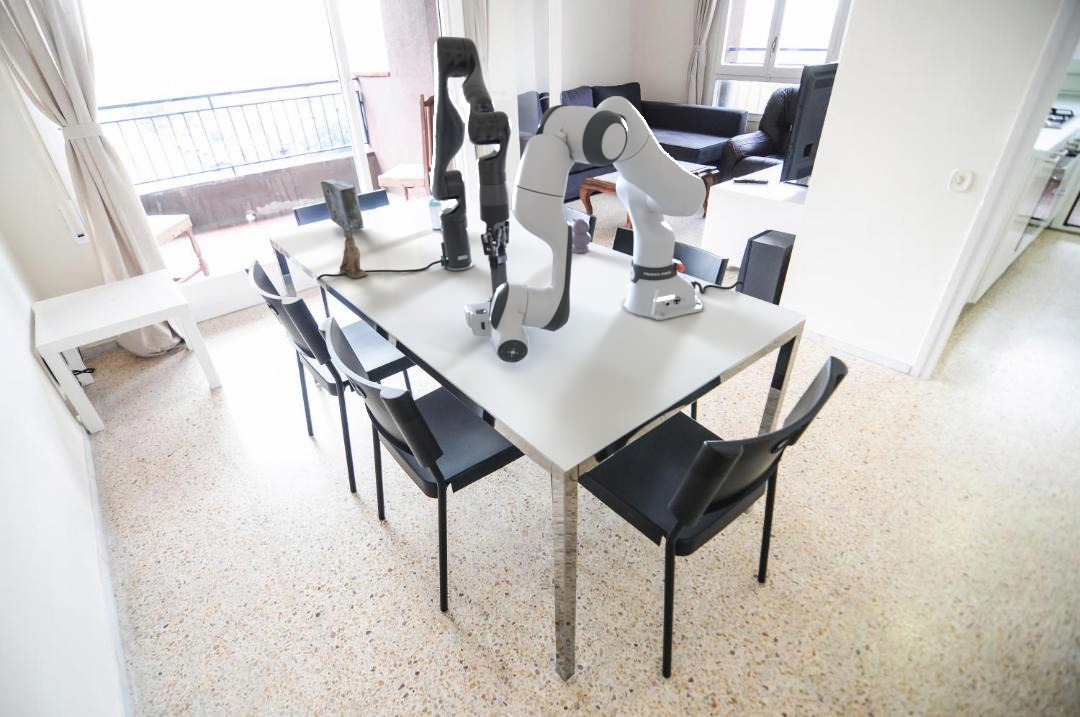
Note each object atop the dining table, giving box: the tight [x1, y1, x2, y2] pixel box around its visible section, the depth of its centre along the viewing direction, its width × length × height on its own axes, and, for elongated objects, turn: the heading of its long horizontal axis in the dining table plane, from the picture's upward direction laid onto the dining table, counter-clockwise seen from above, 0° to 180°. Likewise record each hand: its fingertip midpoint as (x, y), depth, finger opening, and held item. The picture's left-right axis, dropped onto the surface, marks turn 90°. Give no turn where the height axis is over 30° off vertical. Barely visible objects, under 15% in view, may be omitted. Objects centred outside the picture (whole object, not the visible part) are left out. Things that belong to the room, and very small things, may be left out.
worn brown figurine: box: [339, 230, 367, 280], centre depth 174 cm, size 12×6×18 cm, turn 43°
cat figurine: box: [570, 218, 592, 254], centre depth 188 cm, size 8×8×12 cm
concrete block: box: [320, 178, 365, 232], centre depth 221 cm, size 27×9×20 cm, turn 36°
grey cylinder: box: [489, 261, 508, 296], centre depth 137 cm, size 4×4×19 cm
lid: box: [487, 251, 508, 263], centre depth 132 cm, size 5×5×2 cm
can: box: [426, 198, 445, 230], centre depth 220 cm, size 7×7×12 cm
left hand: (498, 264), depth 133 cm, fingers closed on lid, 4 cm apart
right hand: (500, 299), depth 139 cm, fingers closed on grey cylinder, 4 cm apart
